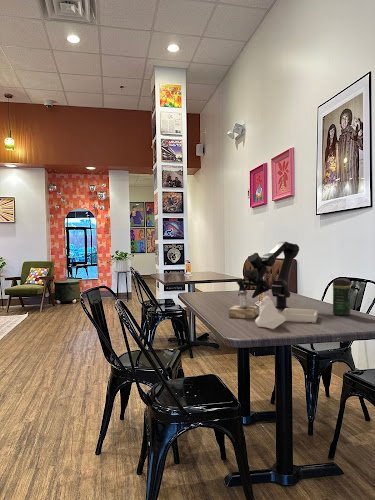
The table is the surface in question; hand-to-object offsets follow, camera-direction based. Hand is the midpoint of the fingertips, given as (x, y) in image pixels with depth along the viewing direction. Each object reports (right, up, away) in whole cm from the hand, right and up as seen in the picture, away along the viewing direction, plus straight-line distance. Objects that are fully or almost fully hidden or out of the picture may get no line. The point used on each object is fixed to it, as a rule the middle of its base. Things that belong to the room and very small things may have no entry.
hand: (245, 296), depth 191 cm
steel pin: (-1, -9, -1) cm, 10 cm away
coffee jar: (+49, -9, -3) cm, 50 cm away
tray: (+24, -9, -12) cm, 29 cm away
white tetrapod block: (+7, -10, -26) cm, 29 cm away
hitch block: (-1, -9, -1) cm, 10 cm away
